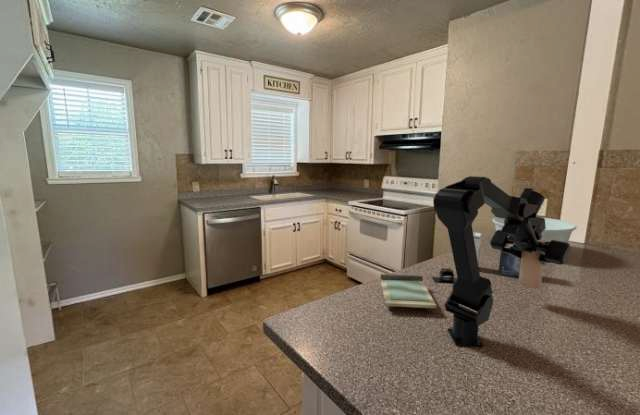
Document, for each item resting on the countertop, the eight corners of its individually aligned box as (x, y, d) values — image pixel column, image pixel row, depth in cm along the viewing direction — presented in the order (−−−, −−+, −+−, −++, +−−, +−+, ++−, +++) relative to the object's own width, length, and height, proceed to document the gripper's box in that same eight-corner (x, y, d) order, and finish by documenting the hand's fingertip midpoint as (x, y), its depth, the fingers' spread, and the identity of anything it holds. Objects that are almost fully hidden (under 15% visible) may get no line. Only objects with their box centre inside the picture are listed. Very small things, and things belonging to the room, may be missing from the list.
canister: (545, 288, 87) (550, 242, 85) (524, 287, 88) (529, 242, 86) (533, 280, 93) (538, 237, 91) (514, 280, 94) (519, 237, 91)
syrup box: (463, 264, 124) (465, 231, 122) (478, 267, 121) (481, 232, 119) (461, 268, 120) (464, 234, 117) (478, 271, 117) (481, 235, 114)
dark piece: (431, 285, 106) (431, 273, 105) (426, 276, 113) (426, 265, 113) (467, 286, 105) (468, 274, 104) (460, 278, 112) (461, 266, 111)
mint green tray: (435, 314, 85) (436, 300, 84) (386, 312, 86) (386, 298, 86) (421, 287, 103) (422, 275, 102) (380, 286, 104) (380, 274, 103)
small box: (499, 275, 113) (501, 249, 111) (498, 269, 118) (500, 244, 117) (533, 280, 108) (536, 253, 106) (530, 274, 114) (533, 248, 112)
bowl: (474, 245, 152) (477, 217, 149) (522, 239, 161) (525, 213, 159) (536, 266, 122) (540, 232, 119) (590, 258, 131) (595, 225, 129)
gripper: (573, 213, 77) (582, 247, 84) (498, 204, 92) (512, 233, 100) (556, 247, 74) (568, 279, 82) (482, 232, 89) (497, 260, 97)
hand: (534, 261), depth 90 cm, fingers closed on canister, 6 cm apart
